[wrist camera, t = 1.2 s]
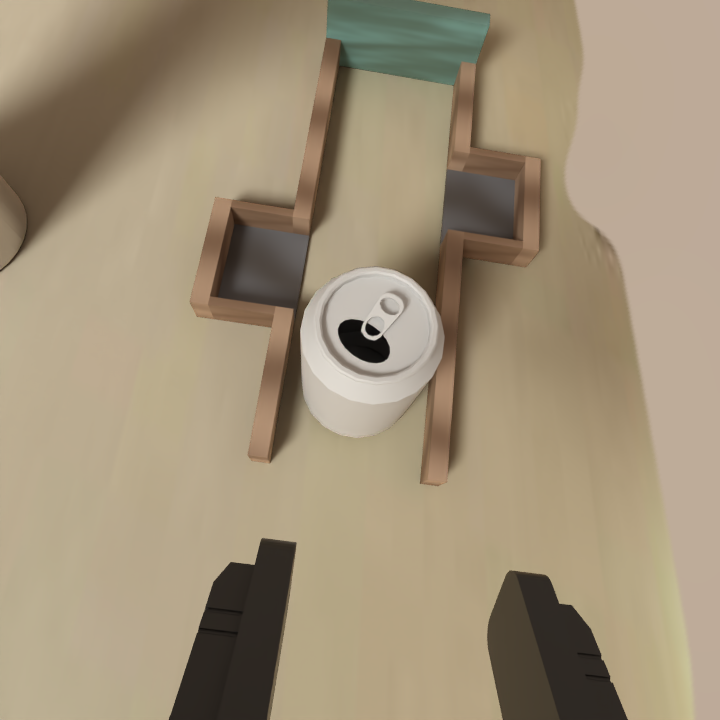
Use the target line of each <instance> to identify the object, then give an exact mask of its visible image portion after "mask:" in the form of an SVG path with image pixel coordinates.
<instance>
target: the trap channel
mask: <svg viewBox="0 0 720 720" xmlns="http://www.w3.org/2000/svg"><path fill="white" fill-rule="evenodd" d="M489 26H490V14H486V13H481V12H475V11H470V10H464V9H459V8H453V7H448V6H442V5H437V4H431V3H426V2H420V1H415V0H328V9H327V35H326V42H325V48H324V53H323V58H322V63H321V69H320V74H319V79H318V85H317V90H316V95H315V101H314V106H313V111H312V116H311V122H310V127H309V132H308V138H307V143H306V148H305V154H304V159H303V164H302V169H301V175H300V180H299V185H298V191H297V196H296V201H295V207H294V210H293V209H287V208H281V207H275V206H268V205H262V204H256V203H249V202H243V201H237V200H231V199H224V198H218V197H215V201H214V205H213V209H212V213H211V217H210V221H209V225H208V229H207V233H206V237H205V241H204V245H203V249H202V254H201V258H200V262H199V266H198V270H197V274H196V278H195V282H194V286H193V290H192V294H191V298H190V304H191V306H192V308H193V310H194V312H195V314H196V316H197V317H204V318H211V319H218V320H224V321H231V322H238V323H245V324H251V325H258V326H265V327H272V329H271V334H270V339H269V344H268V350H267V355H266V360H265V366H264V371H263V376H262V382H261V387H260V392H259V398H258V403H257V408H256V413H255V419H254V424H253V429H252V435H251V440H250V445H249V451H248V456H249V458H250V459H251V461H258V462H265V463H270V460H271V454H272V448H273V442H274V437H275V431H276V425H277V419H278V414H279V408H280V402H281V397H282V391H283V385H284V379H285V374H286V368H287V362H288V356H289V351H290V345H291V339H292V334H293V328H294V322H295V316H296V311H297V305H298V299H299V293H300V288H301V282H302V276H303V271H304V265H305V259H306V253H307V248H308V242H309V236H310V230H311V225H312V219H313V213H314V207H315V202H316V196H317V190H318V185H319V179H320V173H321V167H322V162H323V156H324V150H325V144H326V139H327V133H328V127H329V122H330V116H331V110H332V104H333V99H334V93H335V87H336V81H337V76H338V70H339V66H345V67H351V68H357V69H362V70H368V71H374V72H380V73H385V74H391V75H397V76H403V77H408V78H414V79H420V80H426V81H431V82H437V83H443V84H449V85H454V89H453V101H452V112H451V124H450V136H449V148H448V160H447V171H446V183H445V195H444V207H443V219H442V230H441V242H440V254H439V266H438V278H437V289H436V301H435V307H436V309H437V311H438V313H439V314H440V316H441V321H442V326H443V331H444V336H445V338H444V346H443V354H442V359H441V361H440V363H439V365H438V367H437V369H436V371H435V373H434V375H433V377H432V378H431V379H430V381H429V384H428V396H427V407H426V419H425V431H424V443H423V455H422V466H421V478H420V484H427V485H435V486H439V485H441V484H444V483H446V482H447V475H448V461H449V446H450V432H451V417H452V403H453V388H454V374H455V359H456V345H457V330H458V316H459V301H460V287H461V272H462V258H463V257H464V258H470V259H477V260H483V261H489V262H496V263H502V264H508V265H515V266H521V267H526V266H527V265H528V264H529V263H530V262H531V260H532V259H533V258H534V257H535V255H536V254H537V253H538V252H539V221H540V165H541V159H539V158H533V157H527V156H521V155H515V154H509V153H503V152H497V151H491V150H485V149H479V148H473V147H470V142H471V128H472V113H473V99H474V84H475V70H476V62H477V59H478V57H479V54H480V51H481V48H482V45H483V43H484V40H485V37H486V34H487V31H488V29H489Z"/></svg>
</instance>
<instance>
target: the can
mask: <svg viewBox="0 0 720 720" xmlns="http://www.w3.org/2000/svg"><path fill="white" fill-rule="evenodd" d="M444 338H445V336H444V331H443V326H442V321H441V316H440V314H439V313H438V311H437V309H436V307H435V306H434V304H433V302H432V300H431V299H430V297H429V295H428V294H427V292H426V291H425V290H424V289H423V288H422V287H421V286H420V285H419V284H418V283H417V282H416V281H414V280H413V279H412V278H410V277H408V276H406V275H404V274H402V273H400V272H399V271H397V270H393V269H388V268H383V267H378V266H374V267H363V268H356V269H354V270H351V271H349V272H347V273H344V274H342V275H339V276H337V277H334V278H332V279H331V280H330V281H328V282H327V283H326V284H325V285H324V286H322V287H321V288H320V289H319V290H318V291H316V292H315V294H314V296H313V297H312V299H311V301H310V302H309V304H308V305H307V307H306V309H305V311H304V316H303V320H302V325H301V329H300V339H301V371H302V387H303V395H304V399H305V401H306V403H307V406H308V408H309V410H310V412H311V414H312V415H313V416H314V417H315V418H316V419H317V420H318V421H319V422H320V423H321V424H322V425H323V426H324V427H326V428H328V429H330V430H331V431H333V432H335V433H337V434H339V435H344V436H349V437H355V438H359V437H367V436H374V435H376V434H378V433H380V432H382V431H385V430H387V429H389V428H390V427H391V426H392V425H393V424H394V423H395V422H396V421H397V420H398V419H399V418H400V417H401V416H402V415H403V414H404V413H405V411H406V410H407V409H408V408H409V406H410V405H411V404H412V403H413V401H414V400H415V399H416V397H417V396H418V395H419V394H420V392H421V391H422V390H423V388H424V387H425V386H426V385H427V383H428V382H429V381H430V379H431V378H432V377H433V375H434V373H435V371H436V369H437V367H438V365H439V363H440V361H441V359H442V354H443V346H444Z"/></svg>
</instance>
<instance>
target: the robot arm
mask: <svg viewBox="0 0 720 720" xmlns="http://www.w3.org/2000/svg"><path fill="white" fill-rule="evenodd" d="M26 229H27V216H26V212H25V208H24V205H23V204H22V202H21V200H20V198H19V197H18V195H17V194H16V193H15V192H14V191H13V189H12V188H11V187H10V186H9V185H8V184H7V182H6V181H5V180H4V179H3V178H2V176H1V175H0V269H2V268H3V267H4V266H5V265H7V264H8V263H9V262H10V260H11V259H12V258H13V257H14V256H15V254H16V253H17V252H18V250H19V248H20V246H21V244H22V242H23V240H24V237H25V233H26ZM296 544H297V543H296V542H288V541H281V540H273V539H265V538H262V539H261V542H260V546H259V550H258V554H257V558H256V562H255V565H250V564H242V563H234V562H231V563H230V564H229V565H228V566H227V567H226V568H225V569H224V571H223V572H222V573H221V574H220V575H219V576H218V578H217V579H216V580H215V581H214V582H213V585H212V588H211V592H210V595H209V598H208V601H207V604H206V608H205V612H204V613H203V616H202V619H201V623H200V626H199V630H198V633H197V635H196V638H195V641H194V644H193V647H192V651H191V654H190V657H189V660H188V663H187V666H186V669H185V672H184V675H183V678H182V682H181V685H180V688H179V691H178V694H177V697H176V700H175V703H174V706H173V709H172V712H171V715H170V717H169V720H270V715H271V709H272V703H273V697H274V691H275V684H276V678H277V672H278V666H279V660H280V654H281V647H282V641H283V635H284V629H285V623H286V616H287V610H288V603H289V596H290V589H291V581H292V574H293V567H294V559H295V552H296ZM487 640H488V650H489V655H490V660H491V665H492V670H493V675H494V679H495V684H496V689H497V694H498V699H499V703H500V708H501V713H502V718H503V720H628V719H627V717H626V714H625V712H624V709H623V707H622V704H621V702H620V700H619V697H618V695H617V692H616V690H615V687H614V685H613V683H611V682H610V675H609V673H608V670H607V668H606V665H605V663H604V661H603V660H601V653H600V651H599V648H598V646H597V643H596V641H595V638H594V636H593V633H592V631H591V629H590V628H589V626H588V625H587V624H586V623H585V621H584V620H583V619H582V618H581V616H580V615H579V614H578V613H577V611H576V610H575V609H574V608H573V606H572V605H565V604H559V602H558V599H557V597H556V594H555V591H554V588H553V586H552V583H551V581H550V579H549V578H548V576H546V575H542V574H534V573H526V572H519V571H509V572H508V573H507V574H506V577H505V579H504V582H503V584H502V587H501V590H500V592H499V595H498V598H497V600H496V603H495V605H494V608H493V611H492V613H491V616H490V619H489V624H488V634H487Z"/></svg>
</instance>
